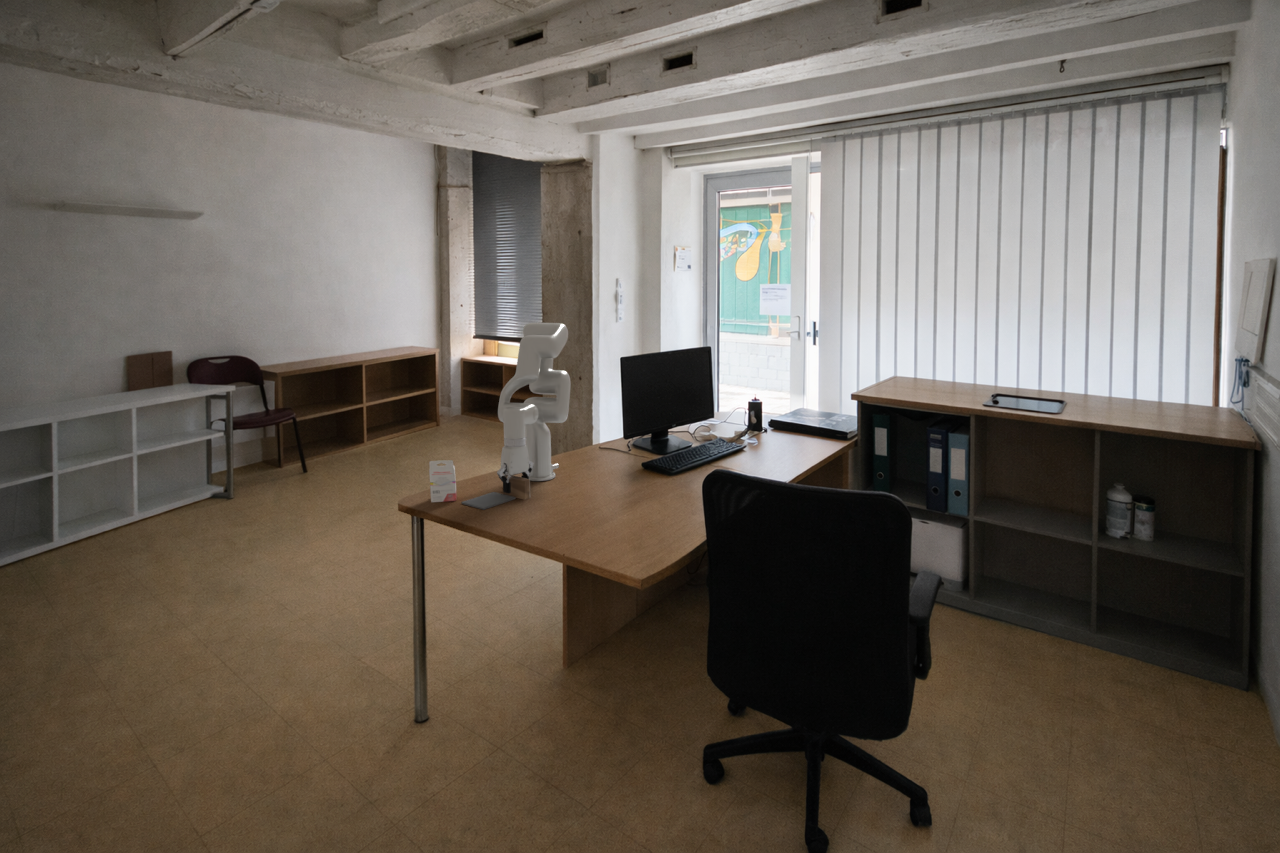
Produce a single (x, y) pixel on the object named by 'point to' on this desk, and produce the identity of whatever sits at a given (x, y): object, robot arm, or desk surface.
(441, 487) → the ink cartridge box
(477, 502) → the mat
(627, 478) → the desk surface
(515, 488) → the tile
